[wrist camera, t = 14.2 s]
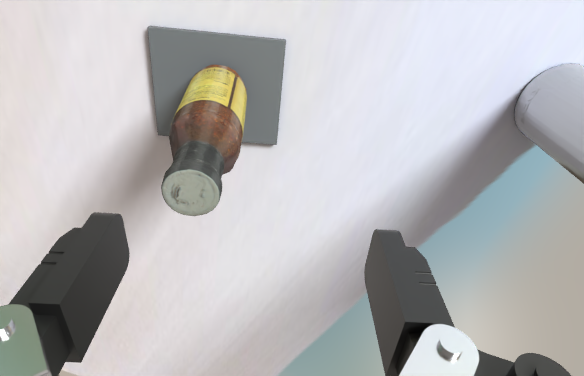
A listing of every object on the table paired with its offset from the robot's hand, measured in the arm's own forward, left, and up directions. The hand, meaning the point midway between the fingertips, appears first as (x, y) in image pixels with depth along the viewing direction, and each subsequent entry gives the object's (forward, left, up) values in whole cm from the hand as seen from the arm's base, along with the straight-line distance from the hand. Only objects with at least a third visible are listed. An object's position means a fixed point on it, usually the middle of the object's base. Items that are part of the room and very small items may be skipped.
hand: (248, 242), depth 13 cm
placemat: (+5, +7, -33) cm, 34 cm away
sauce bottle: (+5, +7, -33) cm, 34 cm away
